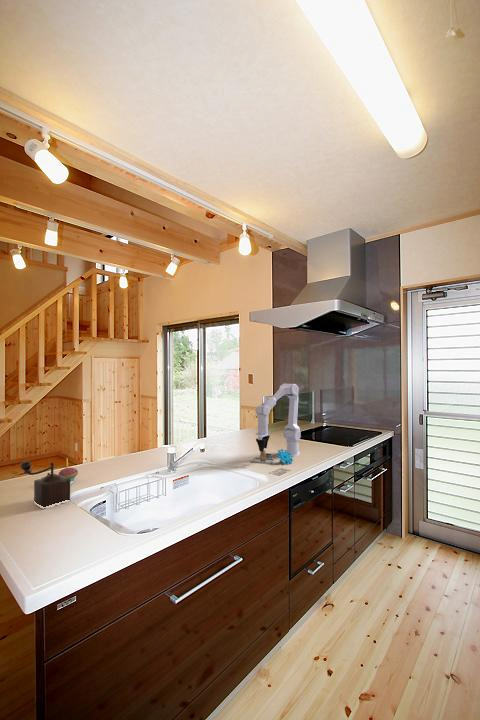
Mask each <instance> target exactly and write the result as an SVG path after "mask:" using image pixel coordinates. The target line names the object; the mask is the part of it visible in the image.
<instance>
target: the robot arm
mask: <svg viewBox="0 0 480 720" xmlns="http://www.w3.org/2000/svg"><path fill="white" fill-rule="evenodd" d="M299 390H300V387H299V386H298V385H297V384H296V383H282V384H281V385H280V386H279V388H278V390H277V391H276V392H275V393H274V394H273V396H270V397H269V396H268V397H267V398H266V400H264V402H262V403H261V404H258V405H256V408H255V414H256V417H257V433H255V435H256V436H257V438H255V441H256V443H257V447H258V450H259V452H260V451H262V452H263V451H264V450H265V449H267V448H268V443H269V439H270V435H269V424H268V423H269V420H268V419H269V417H268V415H270V413H271V412H270V411H271V410H272V409H273V408H274V407H275V406H276V404H277V401H278V400H280V399H281V398H282V397H283V396H284V395H285V396H286V397H287V398H288V399H289V404H288V405H289V406H288V420H287V424H286V425H285V426H284V431H283V437H284V438H285V440H286V450H287V452H286V453H288V452H290V456H292V455H294V456H293V457H299V455H300V453H301V452H300V451H299V441H300V440H301V437H302V435H301V428H300V426H299V425H298V415H299V413H298V412H299V410H298V409H299Z"/></svg>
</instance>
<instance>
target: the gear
mask: <svg viewBox="0 0 480 720" xmlns="http://www.w3.org/2000/svg"><path fill="white" fill-rule="evenodd" d="M276 455H277V459H279V462H280V463H281V462H282V464H283V465H292V464H293V461H294V459H293V458H294V457H295V456H294V455H292V456H290V452H288V453H287V449H283V448H281V449H278V451H277V453H276Z"/></svg>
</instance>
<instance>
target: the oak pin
mask: <svg viewBox="0 0 480 720" xmlns="http://www.w3.org/2000/svg"><path fill="white" fill-rule="evenodd" d="M259 452H260V460H261V461H263V462H265V461H266V453H267V451H266V449H264V451H263V452H262V451H259Z"/></svg>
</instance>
